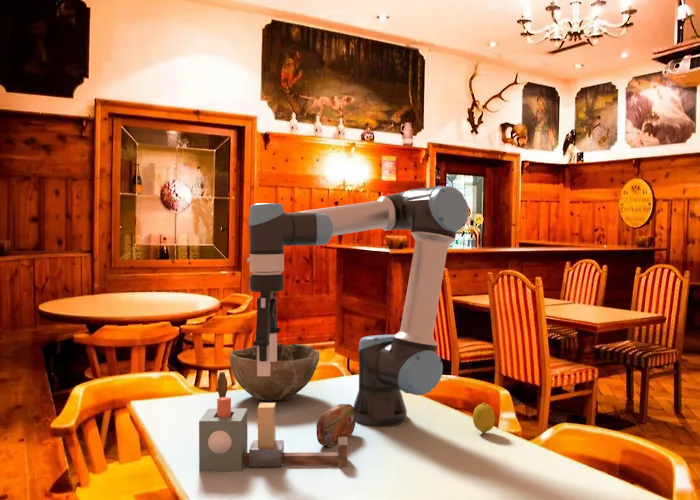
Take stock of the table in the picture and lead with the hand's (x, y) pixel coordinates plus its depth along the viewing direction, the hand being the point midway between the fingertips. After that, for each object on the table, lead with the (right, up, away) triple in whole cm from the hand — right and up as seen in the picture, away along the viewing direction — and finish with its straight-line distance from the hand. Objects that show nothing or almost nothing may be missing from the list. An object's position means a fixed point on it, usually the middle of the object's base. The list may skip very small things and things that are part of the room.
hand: (267, 368), depth 131 cm
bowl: (-5, -20, +51) cm, 55 cm away
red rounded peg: (-10, -15, 0) cm, 18 cm away
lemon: (+53, -21, +21) cm, 61 cm away
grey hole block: (-10, -21, 0) cm, 23 cm away
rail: (+5, -21, +1) cm, 22 cm away
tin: (+15, -21, +15) cm, 30 cm away
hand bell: (-14, -21, +19) cm, 32 cm away
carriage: (0, -21, +1) cm, 21 cm away
